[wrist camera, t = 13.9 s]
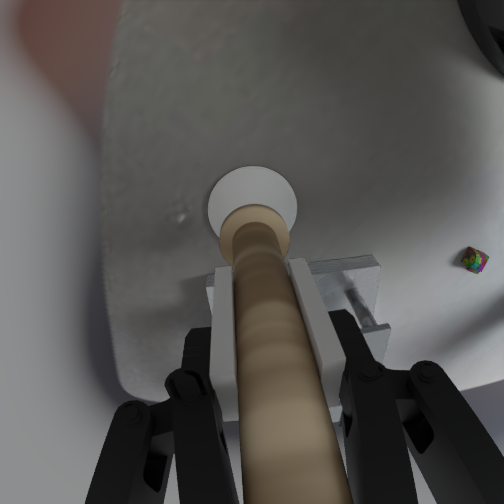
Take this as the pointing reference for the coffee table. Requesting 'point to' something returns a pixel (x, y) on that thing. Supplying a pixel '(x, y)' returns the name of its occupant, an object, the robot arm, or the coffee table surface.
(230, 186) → the coaster
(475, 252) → the multicolour small angular block
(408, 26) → the coffee table surface
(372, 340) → the grey square frame
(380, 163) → the coffee table surface
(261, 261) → the turned wooden spindle
